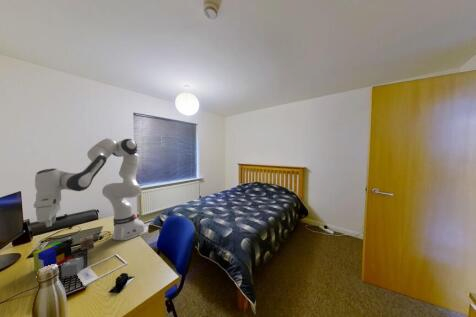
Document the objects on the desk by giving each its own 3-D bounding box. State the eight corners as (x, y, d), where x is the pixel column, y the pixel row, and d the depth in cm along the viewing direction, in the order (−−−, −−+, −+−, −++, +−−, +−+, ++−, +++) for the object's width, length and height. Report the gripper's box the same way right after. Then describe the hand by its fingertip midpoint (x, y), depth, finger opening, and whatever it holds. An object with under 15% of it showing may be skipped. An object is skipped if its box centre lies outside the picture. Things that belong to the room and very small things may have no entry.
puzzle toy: (48, 273, 84) (47, 254, 84) (34, 270, 86) (33, 252, 86) (72, 260, 94) (70, 243, 94) (58, 258, 96) (57, 241, 96)
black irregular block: (125, 274, 84) (125, 266, 83) (138, 275, 83) (138, 267, 83) (103, 296, 71) (102, 286, 71) (118, 297, 71) (118, 287, 70)
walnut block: (93, 243, 111) (92, 234, 111) (93, 247, 107) (93, 237, 107) (80, 247, 107) (80, 237, 107) (81, 251, 103) (80, 241, 102)
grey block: (83, 267, 88) (83, 256, 88) (77, 275, 83) (76, 263, 82) (69, 270, 86) (68, 258, 86) (61, 278, 81) (61, 266, 80)
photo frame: (75, 272, 84) (116, 253, 99) (75, 274, 84) (116, 255, 99) (84, 285, 76) (127, 262, 91) (84, 287, 76) (127, 264, 91)
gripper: (47, 195, 95) (49, 219, 96) (31, 205, 78) (34, 233, 79) (63, 193, 98) (64, 216, 99) (51, 202, 82) (53, 229, 83)
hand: (51, 224), depth 89 cm, fingers open, 4 cm apart
